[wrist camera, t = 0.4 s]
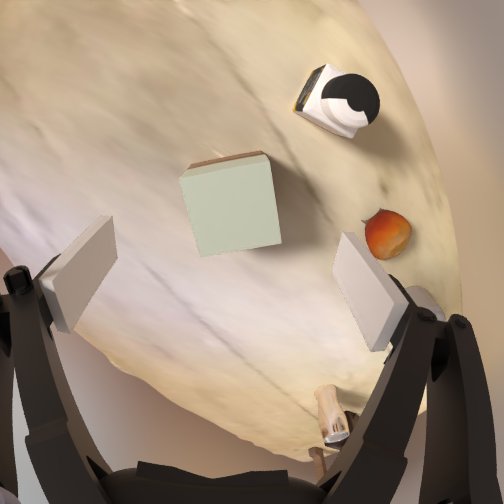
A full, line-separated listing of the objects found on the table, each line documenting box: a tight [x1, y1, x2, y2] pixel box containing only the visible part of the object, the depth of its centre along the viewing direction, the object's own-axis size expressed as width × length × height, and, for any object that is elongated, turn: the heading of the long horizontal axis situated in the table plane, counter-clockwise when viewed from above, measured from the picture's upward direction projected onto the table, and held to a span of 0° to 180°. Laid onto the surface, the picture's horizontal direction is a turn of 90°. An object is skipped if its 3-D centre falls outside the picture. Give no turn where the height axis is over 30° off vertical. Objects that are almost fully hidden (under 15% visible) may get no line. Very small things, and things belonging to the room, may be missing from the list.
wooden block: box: [308, 447, 327, 481], centre depth 84 cm, size 7×3×15 cm, turn 40°
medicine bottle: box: [293, 64, 380, 138], centre depth 29 cm, size 7×7×12 cm
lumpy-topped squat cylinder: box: [405, 286, 446, 322], centre depth 50 cm, size 10×13×9 cm
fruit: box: [361, 209, 412, 260], centre depth 41 cm, size 8×8×8 cm
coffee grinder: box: [324, 411, 359, 451], centre depth 68 cm, size 16×11×18 cm
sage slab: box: [179, 154, 282, 258], centre depth 34 cm, size 10×10×5 cm
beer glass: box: [314, 385, 350, 443], centre depth 60 cm, size 7×7×15 cm
